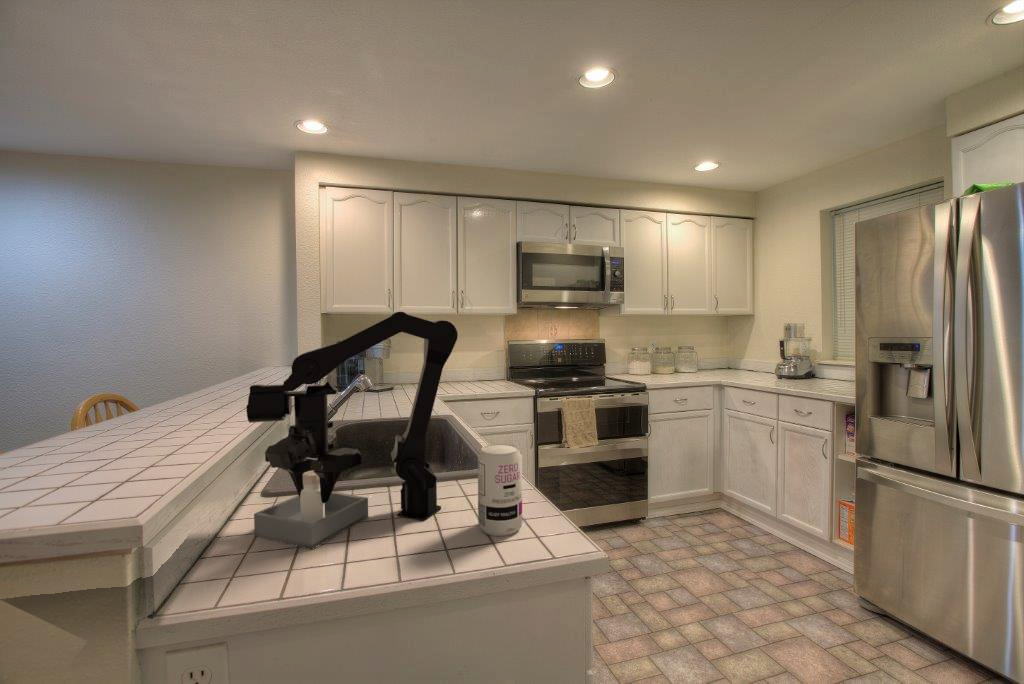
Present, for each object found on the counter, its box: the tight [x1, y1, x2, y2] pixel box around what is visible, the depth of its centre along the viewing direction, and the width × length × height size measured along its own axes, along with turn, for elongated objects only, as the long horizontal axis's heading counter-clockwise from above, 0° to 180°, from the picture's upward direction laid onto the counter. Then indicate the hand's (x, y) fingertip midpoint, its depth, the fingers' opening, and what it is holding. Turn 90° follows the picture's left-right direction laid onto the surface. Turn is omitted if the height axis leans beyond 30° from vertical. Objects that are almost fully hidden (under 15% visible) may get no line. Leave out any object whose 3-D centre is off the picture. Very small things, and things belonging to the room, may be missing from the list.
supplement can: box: [477, 443, 523, 537], centre depth 86 cm, size 8×8×15 cm
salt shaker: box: [300, 469, 325, 524], centre depth 87 cm, size 4×4×10 cm
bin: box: [253, 490, 369, 550], centre depth 88 cm, size 14×14×4 cm
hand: (313, 500), depth 88 cm, fingers closed on salt shaker, 5 cm apart
